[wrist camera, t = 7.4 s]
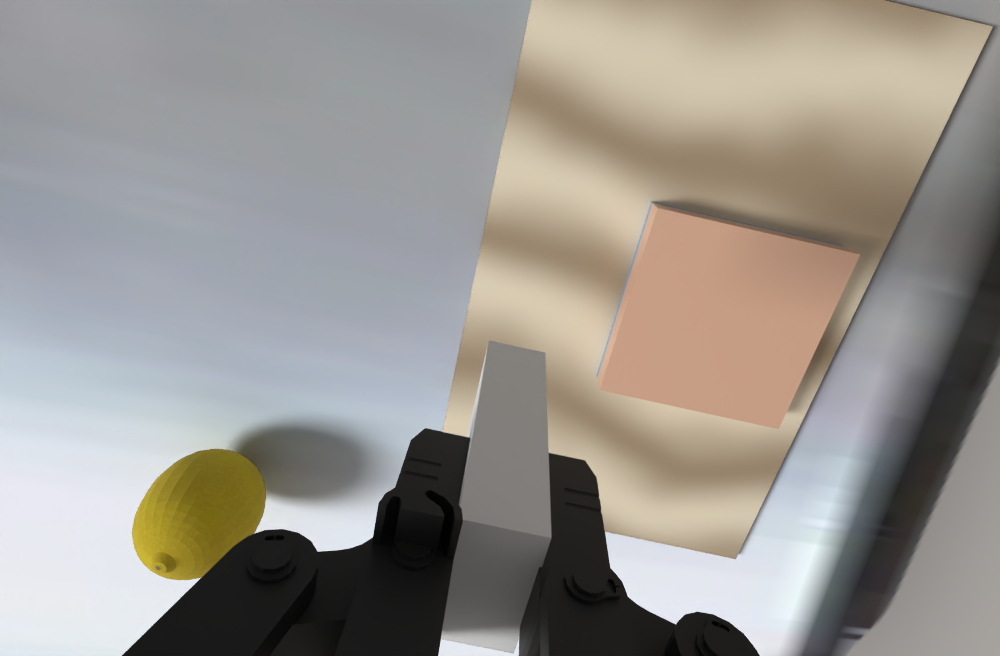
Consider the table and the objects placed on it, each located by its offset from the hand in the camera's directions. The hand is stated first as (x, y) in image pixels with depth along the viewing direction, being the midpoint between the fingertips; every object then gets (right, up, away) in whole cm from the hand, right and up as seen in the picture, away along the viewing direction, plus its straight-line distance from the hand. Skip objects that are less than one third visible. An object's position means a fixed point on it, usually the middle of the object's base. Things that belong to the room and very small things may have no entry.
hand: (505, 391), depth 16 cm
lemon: (-15, -6, +18) cm, 25 cm away
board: (+8, +3, +13) cm, 15 cm away
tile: (+6, +3, +12) cm, 14 cm away
